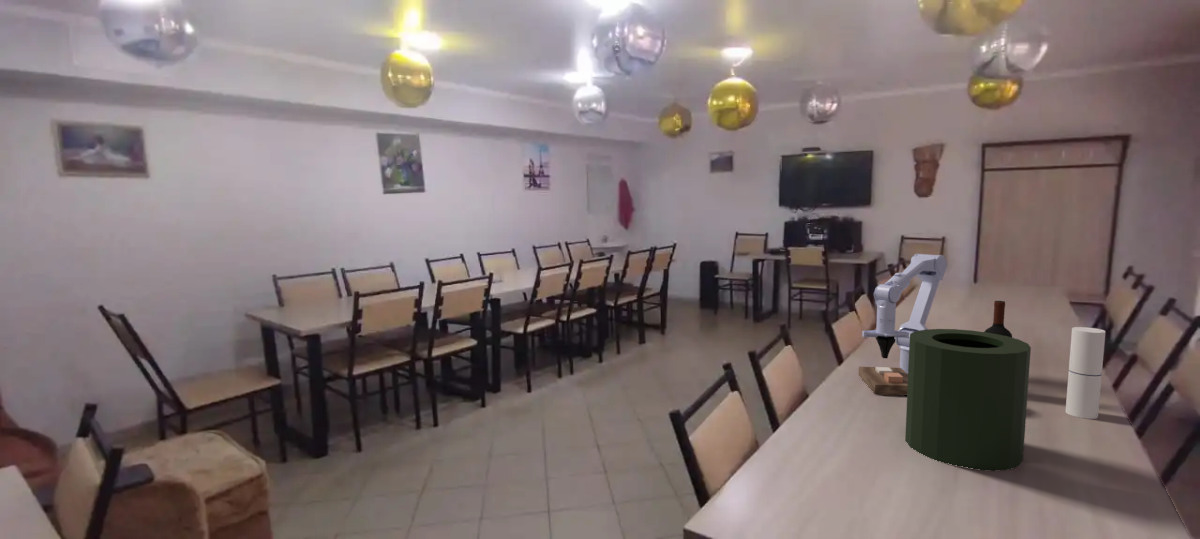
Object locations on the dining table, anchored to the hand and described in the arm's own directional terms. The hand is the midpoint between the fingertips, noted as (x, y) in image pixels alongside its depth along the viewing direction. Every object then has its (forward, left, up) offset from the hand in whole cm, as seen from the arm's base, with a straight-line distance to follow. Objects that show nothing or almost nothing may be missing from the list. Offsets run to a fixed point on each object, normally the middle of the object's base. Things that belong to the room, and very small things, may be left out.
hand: (884, 357), depth 192 cm
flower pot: (-3, +53, -9) cm, 54 cm away
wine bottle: (-31, +8, -9) cm, 33 cm away
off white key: (0, 0, -7) cm, 7 cm away
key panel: (0, +5, -8) cm, 10 cm away
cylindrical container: (-46, +25, -9) cm, 53 cm away
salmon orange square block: (0, +10, -6) cm, 12 cm away
